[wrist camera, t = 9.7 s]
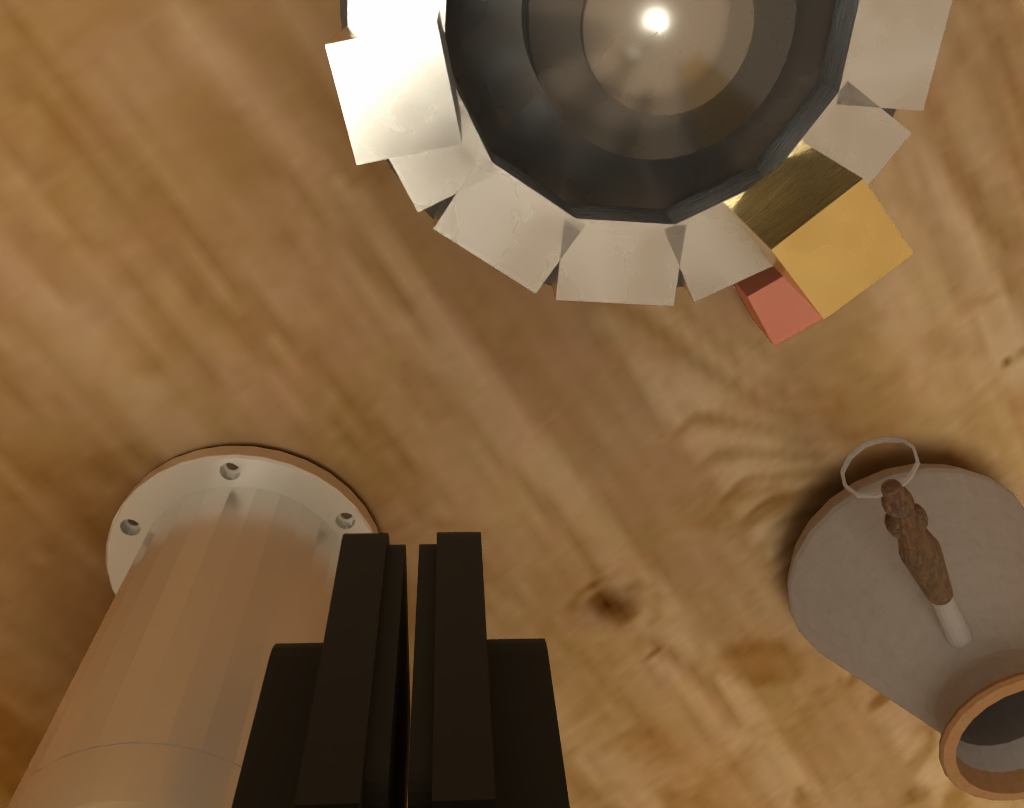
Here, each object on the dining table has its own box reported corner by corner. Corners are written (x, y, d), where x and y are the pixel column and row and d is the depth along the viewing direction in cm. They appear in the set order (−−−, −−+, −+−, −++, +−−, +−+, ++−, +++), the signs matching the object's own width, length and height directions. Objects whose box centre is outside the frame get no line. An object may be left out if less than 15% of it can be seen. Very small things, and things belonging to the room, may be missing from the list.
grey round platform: (848, 265, 39) (933, 337, 32) (368, 273, 38) (349, 349, 31) (950, -331, 30) (1099, -410, 23) (324, -340, 29) (283, -425, 22)
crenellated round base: (1001, -310, 28) (1160, -380, 21) (848, 297, 36) (930, 373, 30) (350, -383, 26) (317, -482, 20) (351, 270, 35) (328, 345, 28)
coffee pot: (1034, 559, 47) (1265, 810, 33) (828, 664, 49) (967, 936, 36) (865, 216, 38) (1086, 368, 25) (625, 362, 41) (708, 573, 27)
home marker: (805, 288, 39) (831, 314, 37) (752, 318, 40) (773, 346, 37) (781, 240, 38) (805, 263, 36) (727, 271, 39) (747, 296, 36)
